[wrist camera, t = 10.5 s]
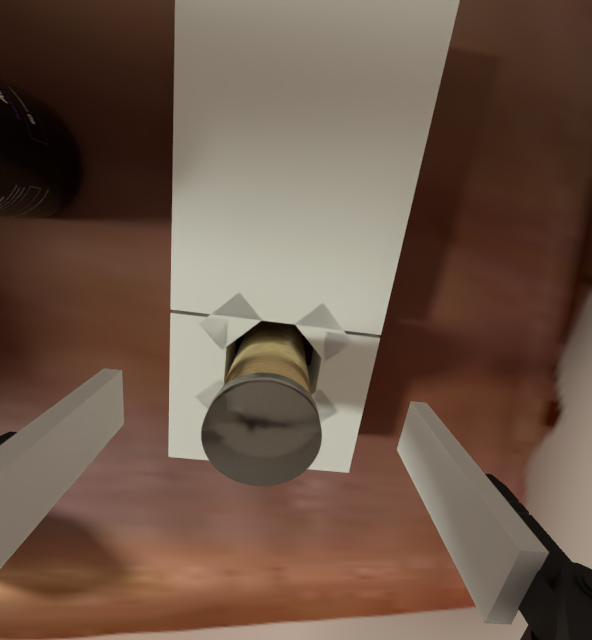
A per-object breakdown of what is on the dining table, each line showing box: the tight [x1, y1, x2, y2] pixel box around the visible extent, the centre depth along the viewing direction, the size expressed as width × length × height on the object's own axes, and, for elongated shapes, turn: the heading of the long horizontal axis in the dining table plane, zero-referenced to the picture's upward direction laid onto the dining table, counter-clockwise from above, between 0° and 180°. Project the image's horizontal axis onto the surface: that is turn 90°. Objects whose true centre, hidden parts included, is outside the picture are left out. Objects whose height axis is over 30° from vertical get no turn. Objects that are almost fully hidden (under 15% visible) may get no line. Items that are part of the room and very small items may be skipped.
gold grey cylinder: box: [201, 321, 322, 486], centre depth 16 cm, size 5×5×10 cm
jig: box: [168, 0, 460, 473], centre depth 17 cm, size 12×26×4 cm, turn 172°
